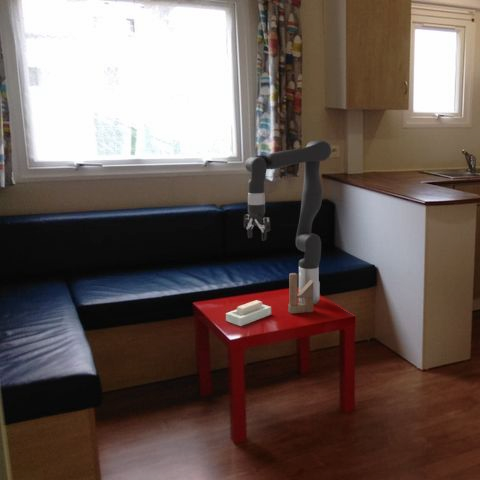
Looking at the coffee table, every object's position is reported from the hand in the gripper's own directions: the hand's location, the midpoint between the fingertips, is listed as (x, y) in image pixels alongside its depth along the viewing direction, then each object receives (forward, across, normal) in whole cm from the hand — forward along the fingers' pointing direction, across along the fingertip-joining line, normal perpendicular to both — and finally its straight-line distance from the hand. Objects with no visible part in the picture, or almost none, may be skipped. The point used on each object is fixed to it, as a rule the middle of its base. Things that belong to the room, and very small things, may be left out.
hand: (257, 239), depth 236 cm
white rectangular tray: (+33, -4, +10) cm, 35 cm away
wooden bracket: (+33, -16, -11) cm, 39 cm away
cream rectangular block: (+32, -4, +9) cm, 34 cm away
